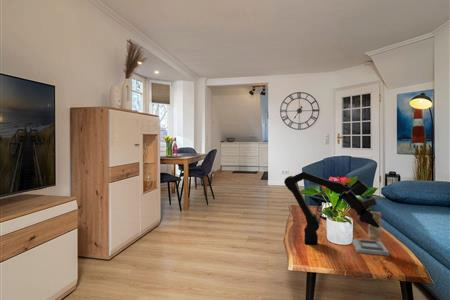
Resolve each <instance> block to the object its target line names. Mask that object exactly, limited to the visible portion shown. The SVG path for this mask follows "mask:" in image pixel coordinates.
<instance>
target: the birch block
mask: <svg viewBox="0 0 450 300" xmlns="http://www.w3.org/2000/svg"><path fill="white" fill-rule="evenodd" d="M370 212H371V213H373V219H374V220H375V221H376V223H377V224H378V225H379V228H376V227H374V226H372V225H370V224H368V240H372V241H378V242H382V213H381V212H380V211H372V210H371V211H370Z"/></svg>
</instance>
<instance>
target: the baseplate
mask: <svg viewBox="0 0 450 300" xmlns="http://www.w3.org/2000/svg"><path fill="white" fill-rule="evenodd" d="M351 242H352V244H353V247H354V248H355V250H356V252H357V253H360V254H361V253H362V254H371V255H379V256H380V255H381V256H388V257H389V256H390V251H389V250H388V249H387V248H386V246H385V245H384V244H383V243H382V241H377V240H370V239H362V238H361V239H359V238H358V239H355V238H352V239H351Z"/></svg>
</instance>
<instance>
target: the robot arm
mask: <svg viewBox="0 0 450 300" xmlns="http://www.w3.org/2000/svg"><path fill="white" fill-rule="evenodd" d="M303 180H306V181H308V182H310V183H314V184H317V185H319V186H322V187H325V188H327V189H328V190H329V191H332V192H334V193H335V194H336V195H337V194H338V195H337V196H338V201H339V202H340V201H342V200H343V201H344V202H345V203H346V204H347V205H348V206H349V207H350V209H351V210H353V211H354V212H355V213H356V214H357V216H358V221H360V223H362V224H363V223H364V224H367V225H369V224H370V225H372V226H374V227H376V228H379V225H378V224H377V223H376V221H375V220H374V219H373V213H371V212H370V211H372V209H371V207H373V206H377V205H378V203H377V201H376V199H375V197H374V196H370V195H369V194H368V195H366V196H365V198H364V199H361V198H358V197H359V196H360V197H361V196H362V195H363V194H365V193H366V192H367V191H369V190H370V187H369V186H367V184H365V183H364V182H362V180H360V179H359V178H358V179H356V180H355V181H354V183H352V184H345V183H343V181H339V180H333V179H327V178H324V177H321V176H318V175H315V174H313V173H309V172H307V171H305V170H304V171H302V172H300V173H298V174H295V175H288V176H287V177H285V178H284V182H283V184H284V186H285V187H286V188H287V189H288V191H289V192H291V193H292V195H293V197H294V198H295V200H296V202H297V203H298V206H299V207H300V209H301V211H302V213H303V215H304V217H305V221H306V224H305V227H304V229H303V232H304V239H303V241H304V245H312V246H317V245H318V243H319V239H318V238H319V235H318V233H317V231H318V230H319V229H320V225H321V219H320V218H319V216H318V213H315V214H314V213H313V211H312V210H311V208H310V206H309V205H308V203H307V201H306V199H305V198H304V196H303V193H302V192H301V190H300V188H299V187H300V186H299V182H301V181H303Z"/></svg>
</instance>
